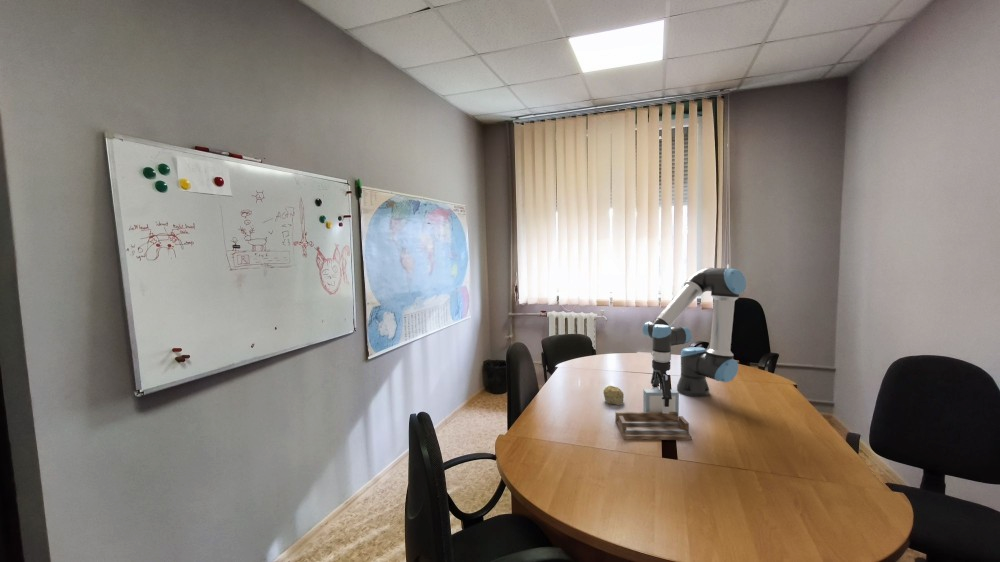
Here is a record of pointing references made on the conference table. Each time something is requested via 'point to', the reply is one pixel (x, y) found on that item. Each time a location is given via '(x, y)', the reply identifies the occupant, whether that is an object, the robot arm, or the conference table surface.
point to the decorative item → (613, 395)
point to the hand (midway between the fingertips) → (660, 406)
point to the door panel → (659, 400)
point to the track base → (652, 425)
